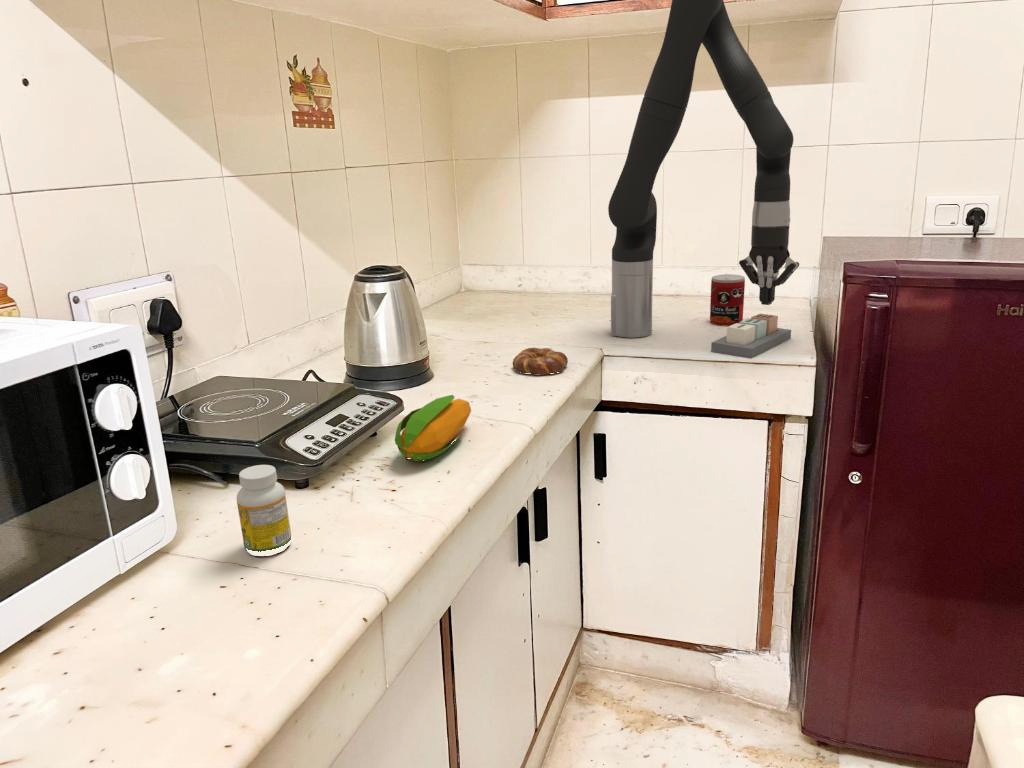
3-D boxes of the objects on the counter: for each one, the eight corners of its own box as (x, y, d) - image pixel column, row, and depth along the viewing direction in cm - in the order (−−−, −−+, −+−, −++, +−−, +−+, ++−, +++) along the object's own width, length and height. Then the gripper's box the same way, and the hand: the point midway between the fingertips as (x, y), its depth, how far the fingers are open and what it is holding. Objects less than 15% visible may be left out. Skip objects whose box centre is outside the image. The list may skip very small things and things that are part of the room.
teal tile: (738, 337, 164) (739, 321, 163) (747, 333, 167) (748, 317, 166) (757, 340, 161) (758, 324, 160) (765, 336, 164) (766, 320, 163)
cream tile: (726, 343, 160) (727, 326, 159) (735, 339, 163) (736, 322, 162) (745, 346, 157) (746, 329, 156) (754, 342, 160) (755, 325, 159)
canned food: (706, 324, 183) (707, 279, 180) (714, 317, 190) (716, 273, 187) (738, 327, 180) (741, 280, 177) (745, 319, 187) (748, 274, 183)
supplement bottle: (290, 555, 87) (279, 478, 85) (241, 561, 87) (229, 484, 84) (294, 532, 93) (283, 459, 90) (248, 538, 92) (235, 464, 89)
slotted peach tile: (750, 332, 168) (751, 316, 167) (758, 328, 171) (759, 312, 170) (768, 335, 165) (769, 318, 164) (776, 331, 168) (778, 315, 167)
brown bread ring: (500, 367, 157) (499, 350, 155) (543, 358, 162) (543, 341, 161) (533, 381, 147) (533, 362, 146) (578, 370, 153) (578, 352, 151)
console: (711, 351, 161) (711, 342, 160) (752, 333, 174) (752, 324, 174) (751, 358, 155) (752, 348, 155) (790, 338, 168) (791, 329, 168)
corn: (380, 418, 107) (444, 377, 125) (382, 467, 110) (444, 420, 128) (427, 427, 105) (486, 383, 122) (428, 477, 107) (485, 427, 125)
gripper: (732, 224, 162) (730, 304, 168) (793, 225, 154) (789, 310, 159) (749, 220, 168) (746, 298, 173) (809, 221, 159) (803, 304, 164)
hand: (766, 304), depth 166 cm, fingers closed
